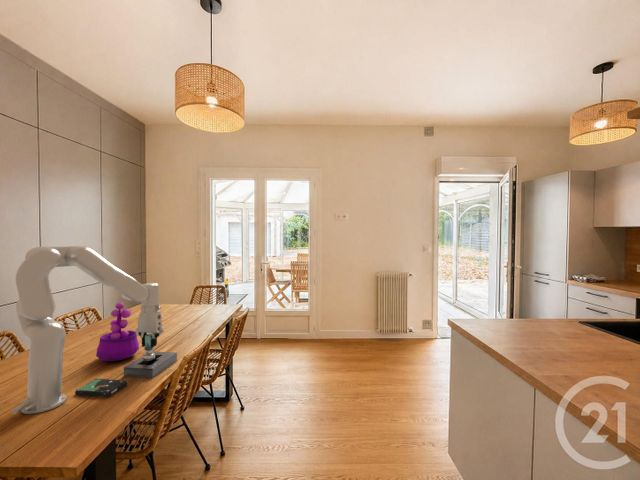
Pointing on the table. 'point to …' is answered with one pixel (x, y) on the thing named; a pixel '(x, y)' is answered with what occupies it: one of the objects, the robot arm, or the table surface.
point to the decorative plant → (118, 338)
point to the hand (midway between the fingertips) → (149, 345)
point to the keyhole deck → (150, 371)
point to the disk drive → (101, 388)
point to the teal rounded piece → (148, 348)
